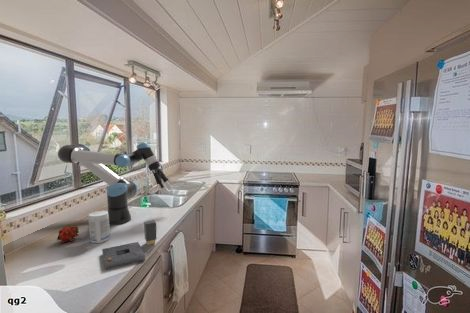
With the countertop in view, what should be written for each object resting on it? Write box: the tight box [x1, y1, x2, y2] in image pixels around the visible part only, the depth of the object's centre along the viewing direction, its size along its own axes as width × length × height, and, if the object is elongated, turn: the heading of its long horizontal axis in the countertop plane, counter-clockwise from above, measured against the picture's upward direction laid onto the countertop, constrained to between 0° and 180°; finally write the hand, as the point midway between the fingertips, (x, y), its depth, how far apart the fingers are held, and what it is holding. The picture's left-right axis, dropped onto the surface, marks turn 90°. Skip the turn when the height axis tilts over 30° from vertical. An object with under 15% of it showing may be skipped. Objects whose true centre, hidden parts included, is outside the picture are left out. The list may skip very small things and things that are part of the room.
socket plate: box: [101, 241, 146, 270], centre depth 121 cm, size 16×16×3 cm
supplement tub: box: [87, 210, 111, 244], centre depth 139 cm, size 10×10×15 cm
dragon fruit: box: [56, 225, 80, 244], centre depth 138 cm, size 8×8×12 cm
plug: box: [143, 219, 157, 246], centre depth 135 cm, size 4×5×11 cm
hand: (168, 190), depth 178 cm, fingers open, 13 cm apart
